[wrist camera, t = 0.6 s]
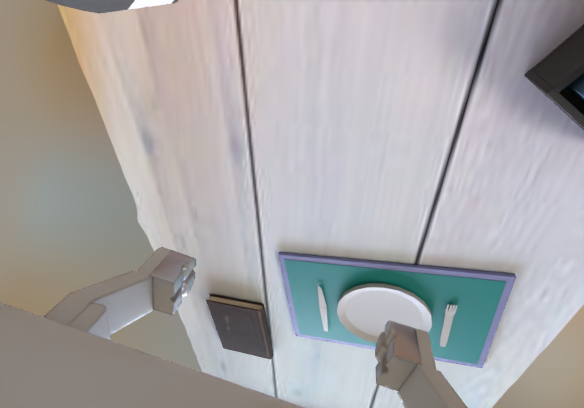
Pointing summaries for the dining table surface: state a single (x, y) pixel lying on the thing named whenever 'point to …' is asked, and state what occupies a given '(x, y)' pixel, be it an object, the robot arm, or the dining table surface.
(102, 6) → the wine bottle
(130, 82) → the dining table surface
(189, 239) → the dining table surface
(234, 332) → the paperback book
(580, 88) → the caddy
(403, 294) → the place mat
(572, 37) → the tote
